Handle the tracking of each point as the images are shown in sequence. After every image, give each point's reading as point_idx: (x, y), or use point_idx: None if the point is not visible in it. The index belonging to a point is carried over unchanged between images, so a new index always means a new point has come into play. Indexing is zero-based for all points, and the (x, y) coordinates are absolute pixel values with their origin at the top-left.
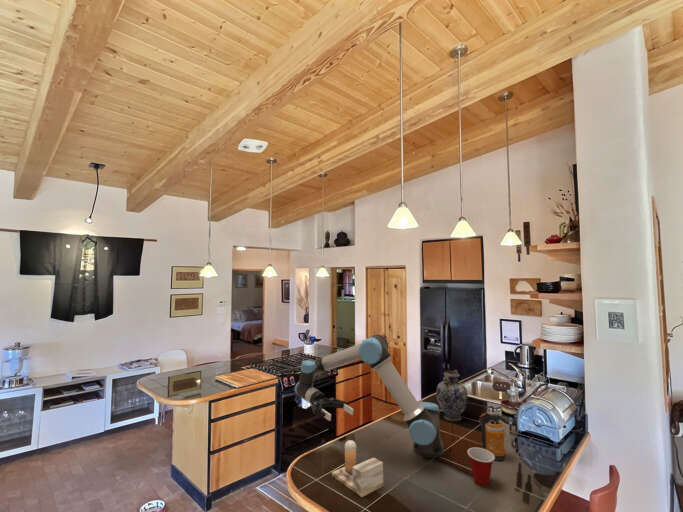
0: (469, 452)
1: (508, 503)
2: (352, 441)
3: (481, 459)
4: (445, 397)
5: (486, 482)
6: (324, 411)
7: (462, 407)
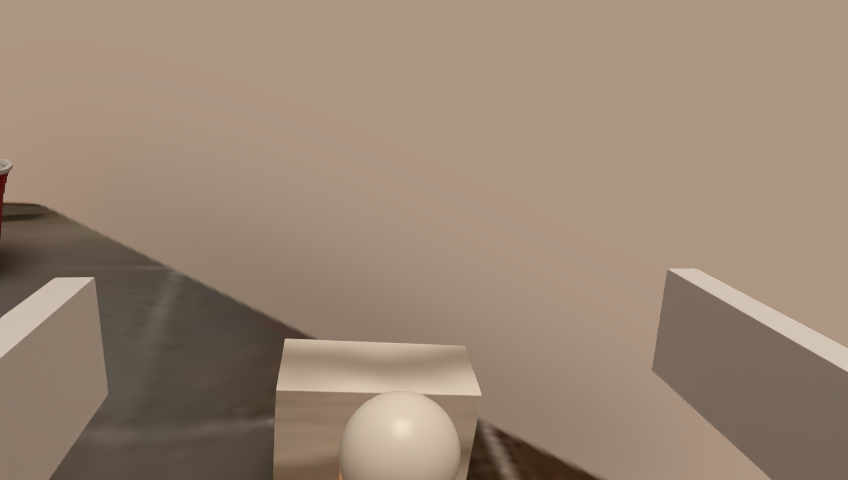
0: None
1: (73, 230)
2: (391, 394)
3: None
4: None
5: None
6: (836, 349)
7: None
